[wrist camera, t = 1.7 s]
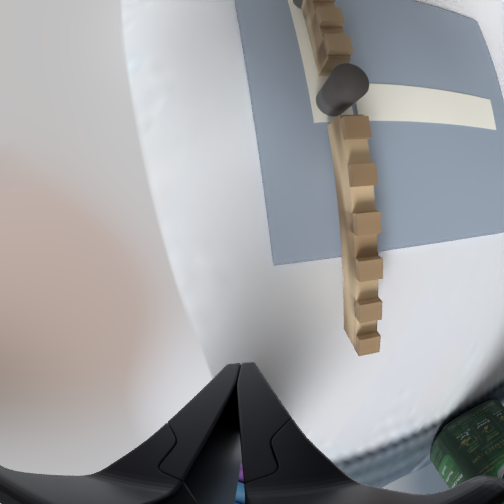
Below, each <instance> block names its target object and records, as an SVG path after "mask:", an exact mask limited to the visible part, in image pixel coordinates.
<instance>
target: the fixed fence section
mask: <svg viewBox="0 0 504 504" xmlns="http://www.w3.org/2000/svg"><path fill="white" fill-rule="evenodd" d="M334 2H335V0H293V3H294V4H295V5H296V6H297V7H298V8H300V9H302V12H303V16H304V20H305V23H306V27H307V31H308V35H309V39H310V43H311V47H312V51H313V55H314V60H315V64H316V69H317V73H318V76H329V77H328V79H327V80H326V82H325V83H324V85H323V86H322V88H321V89H320V91H319V92H318V94H317V96H316V104H317V106H318V108H319V109H320V111H321V112H323V113H324V114H326V115H328V116H338V115H341V114H342V113H343V112H344V111H346V110H347V109H348V108H349V107H350V106H352V105H353V104H354V103H355V102H357V101H358V100H359V99H360V98H361V97H363V96H364V95H365V94H366V93H367V92H368V89H369V80H368V77H367V75H366V74H365V72H364V71H363V70H362V69H361V68H359V67H358V66H356V65H353V64H349V61H350V60H351V54H352V53H353V51H354V50H353V46H352V43H351V39H350V36H349V34H344V31H343V28H342V27H343V25H344V23H345V20H344V17H343V14H342V11H341V8H339V7H336V6H335V3H334Z"/></svg>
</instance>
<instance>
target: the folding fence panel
mask: <svg viewBox="0 0 504 504" xmlns="http://www.w3.org/2000/svg"><path fill="white" fill-rule="evenodd" d="M327 127H328V133H329V139H330V146H331V153H332V160H333V168H334V176H335V184H336V193H337V202H338V213H339V224H340V237H341V251H342V269H343V294H344V330H345V331H346V333H347V335H348V337H349V339H350V341H351V343H352V344H353V346H354V348H355V350H356V352H357V354H358V356H362V355H367V354H372V353H376V352H379V351H380V338H381V336H380V335H379V333H378V332H377V320H381V319H382V301H381V300H380V299H379V297H378V279H383V259H382V258H381V257H380V256H378V245H377V234H379V233H382V229H381V213H380V211H377V210H376V209H375V197H374V186H373V185H378V179H377V170H376V163H371V160H370V153H369V146H368V138H371V137H372V134H371V128H370V122H369V116H364V115H339V116H338V117H337V118H335V119H334V120H333V121H332V122H331V123H330V124H328V125H327Z"/></svg>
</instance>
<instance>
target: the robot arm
mask: <svg viewBox="0 0 504 504" xmlns="http://www.w3.org/2000/svg"><path fill="white" fill-rule="evenodd" d="M241 459H242V467H243V479H244V490H245V504H502V503H503V502H504V479H502V478H499V477H493V476H486V475H481V476H477V477H474V478H471V479H469V480H467V481H465V482H463V483H461V484H459V485H457V486H455V487H453V488H451V489H449V490H446V491H443V492H439V493H435V494H427V495H421V494H411V493H404V492H398V491H393V490H388V489H383V488H378V487H373V486H369V485H365V484H362V483H359V482H357V481H355V480H353V479H352V478H351V477H349V476H348V475H347V474H345V473H344V472H343V471H342V470H341V469H340V468H338V467H337V466H336V465H335V464H334V463H333V462H332V461H331V460H330V459H328V458H327V457H326V456H325V455H324V454H323V453H322V452H321V451H320V450H319V449H318V448H317V447H316V446H315V445H314V444H313V443H312V442H311V441H310V440H309V439H308V438H307V437H306V436H305V435H304V433H303V432H302V431H301V429H300V428H299V427H298V426H297V424H296V423H295V421H294V420H293V419H292V417H291V416H290V414H289V413H288V412H287V410H286V409H285V407H284V406H283V404H282V403H281V401H280V400H279V399H278V397H277V396H276V394H275V393H274V391H273V390H272V388H271V387H270V385H269V384H268V382H267V381H266V379H265V378H264V376H263V375H262V373H261V372H260V370H259V369H258V367H257V366H256V364H255V363H254V362H248V363H242V364H239V363H237V364H228V365H226V366H225V367H224V368H223V369H222V370H221V371H220V372H219V373H218V374H217V375H216V376H215V377H214V378H213V379H212V380H211V381H210V383H208V384H207V385H206V386H205V387H204V388H203V389H202V390H201V391H200V392H199V393H198V394H197V395H196V396H195V397H194V398H193V399H192V400H191V401H190V402H189V403H188V404H187V405H185V407H184V408H182V409H181V410H180V411H179V412H178V413H177V414H176V415H175V416H174V417H173V418H172V419H171V420H169V421H168V423H166V424H165V425H164V426H163V427H162V428H160V429H159V430H158V431H157V432H156V433H155V434H154V435H152V436H151V437H150V438H149V439H148V440H146V441H145V442H143V443H142V444H141V445H139V446H138V447H137V448H135V449H134V450H132V451H131V452H129V453H128V454H126V455H125V456H123V457H122V458H120V459H119V460H117V461H116V462H114V463H113V464H111V465H110V466H108V467H106V468H105V469H103V470H101V471H99V472H97V473H94V474H91V475H85V476H63V475H45V474H33V473H24V472H18V471H14V470H9V469H7V468H4V467H2V466H0V503H1V504H235V499H236V492H237V486H238V479H239V472H240V466H241Z"/></svg>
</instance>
